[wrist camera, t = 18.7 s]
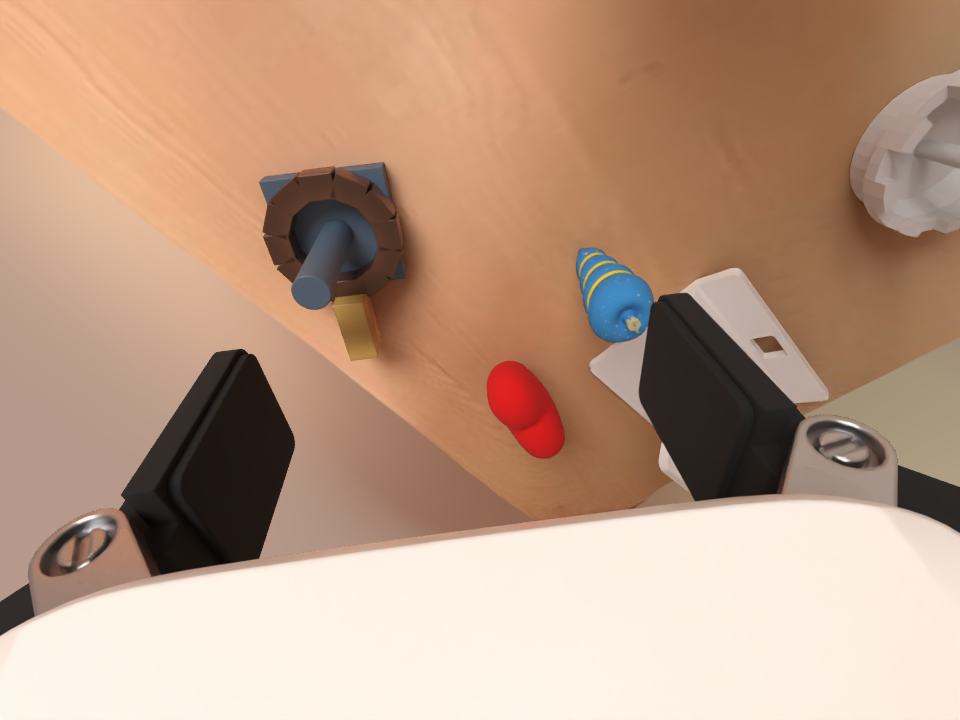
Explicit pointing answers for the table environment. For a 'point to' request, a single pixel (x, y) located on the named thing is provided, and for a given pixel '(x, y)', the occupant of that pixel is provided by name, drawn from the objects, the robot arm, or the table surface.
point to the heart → (525, 409)
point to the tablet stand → (743, 322)
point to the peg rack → (332, 238)
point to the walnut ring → (351, 285)
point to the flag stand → (913, 159)
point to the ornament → (613, 296)
